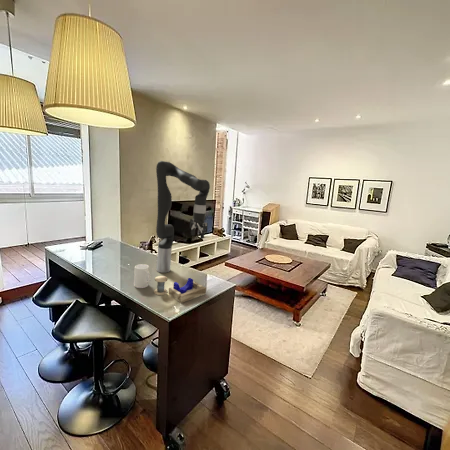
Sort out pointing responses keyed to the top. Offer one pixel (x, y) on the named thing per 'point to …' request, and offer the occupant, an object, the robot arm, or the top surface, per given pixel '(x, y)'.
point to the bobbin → (160, 285)
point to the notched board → (188, 293)
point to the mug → (141, 276)
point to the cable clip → (187, 286)
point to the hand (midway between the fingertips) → (197, 237)
